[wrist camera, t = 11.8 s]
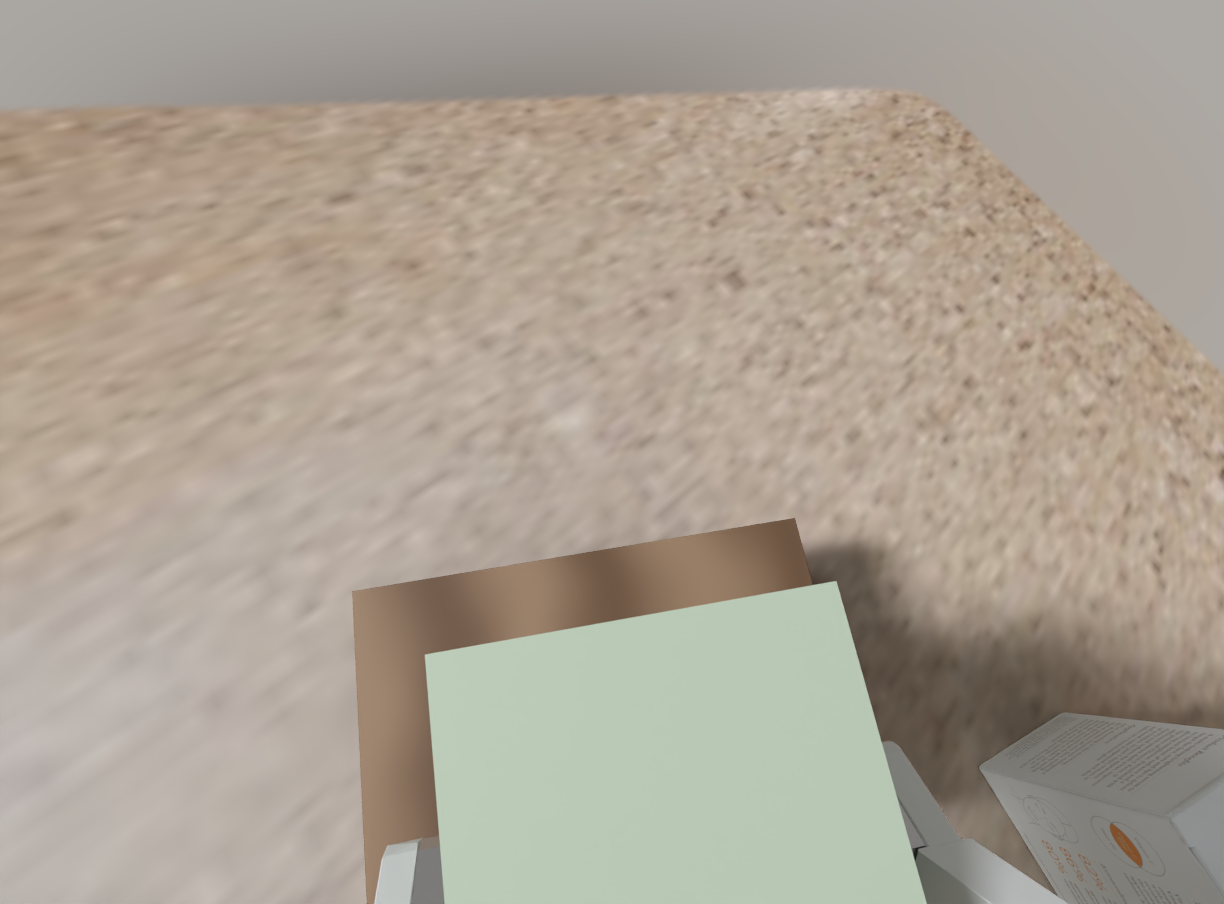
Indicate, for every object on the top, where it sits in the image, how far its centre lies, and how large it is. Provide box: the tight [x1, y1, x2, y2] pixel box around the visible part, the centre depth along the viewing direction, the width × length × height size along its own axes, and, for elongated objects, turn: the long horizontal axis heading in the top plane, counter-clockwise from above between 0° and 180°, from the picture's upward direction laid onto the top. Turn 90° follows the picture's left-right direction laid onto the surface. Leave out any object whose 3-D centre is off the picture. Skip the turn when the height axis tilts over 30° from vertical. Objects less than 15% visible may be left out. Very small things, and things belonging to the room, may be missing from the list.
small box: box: [979, 712, 1224, 904], centre depth 24 cm, size 8×6×10 cm
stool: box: [352, 518, 813, 904], centre depth 27 cm, size 18×12×7 cm, turn 100°
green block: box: [425, 581, 927, 904], centre depth 11 cm, size 5×5×10 cm
